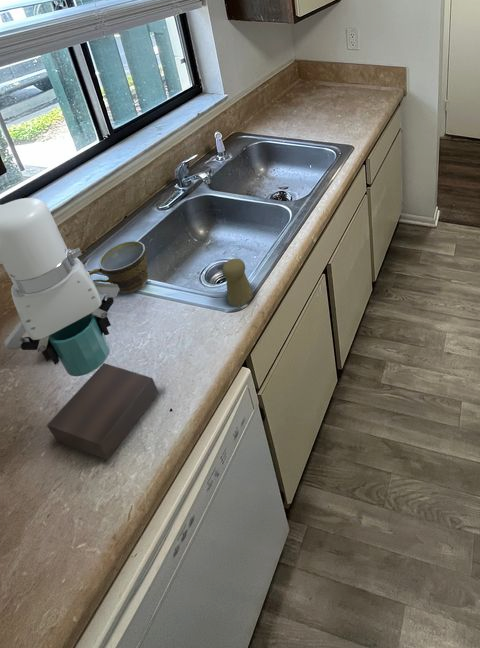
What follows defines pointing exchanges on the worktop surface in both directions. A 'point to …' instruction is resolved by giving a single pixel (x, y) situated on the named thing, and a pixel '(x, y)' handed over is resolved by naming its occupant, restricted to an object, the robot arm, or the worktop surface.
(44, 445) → the worktop surface
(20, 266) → the robot arm
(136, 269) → the ceramic cup
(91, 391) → the plate
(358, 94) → the worktop surface
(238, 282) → the olive pepper mill
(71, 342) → the teal cup
